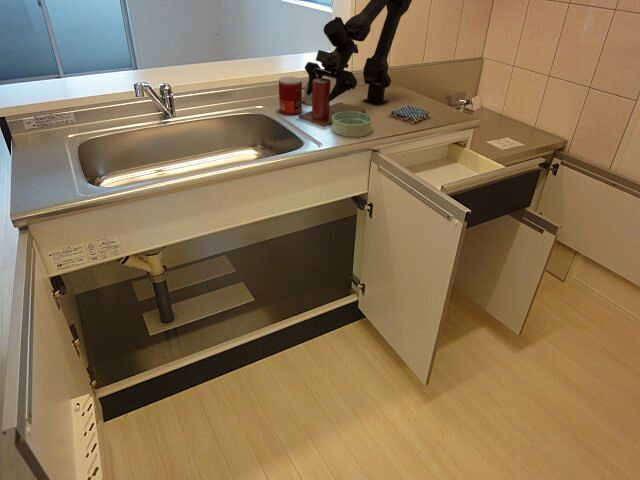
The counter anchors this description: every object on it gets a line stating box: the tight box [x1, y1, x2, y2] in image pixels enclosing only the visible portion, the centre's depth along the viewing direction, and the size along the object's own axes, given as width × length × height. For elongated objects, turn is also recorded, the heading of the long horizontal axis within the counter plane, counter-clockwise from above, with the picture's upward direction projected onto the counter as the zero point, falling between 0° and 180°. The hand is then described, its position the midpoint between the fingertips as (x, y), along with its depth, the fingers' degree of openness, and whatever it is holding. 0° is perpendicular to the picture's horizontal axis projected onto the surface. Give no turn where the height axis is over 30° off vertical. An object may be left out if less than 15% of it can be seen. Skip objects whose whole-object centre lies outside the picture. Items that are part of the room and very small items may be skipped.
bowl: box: [331, 111, 373, 138], centre depth 140 cm, size 13×13×4 cm
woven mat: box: [389, 105, 430, 124], centre depth 153 cm, size 10×11×2 cm
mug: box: [302, 81, 312, 106], centre depth 162 cm, size 10×7×7 cm
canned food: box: [278, 76, 303, 116], centre depth 152 cm, size 8×8×11 cm
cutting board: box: [298, 101, 366, 128], centre depth 152 cm, size 21×12×2 cm, turn 136°
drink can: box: [311, 77, 331, 120], centre depth 144 cm, size 6×6×12 cm
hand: (317, 97), depth 142 cm, fingers open, 9 cm apart
